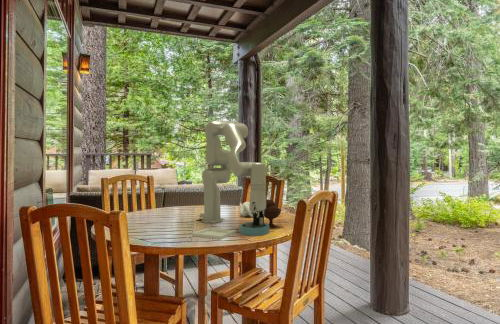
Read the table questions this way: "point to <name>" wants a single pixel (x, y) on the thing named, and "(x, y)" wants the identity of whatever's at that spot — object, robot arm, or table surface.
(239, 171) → the robot arm
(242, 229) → the bowl
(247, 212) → the white lumpy chunk
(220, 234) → the parts tray
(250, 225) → the stone
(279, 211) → the ice cream bowl
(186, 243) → the table surface
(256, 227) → the stone
